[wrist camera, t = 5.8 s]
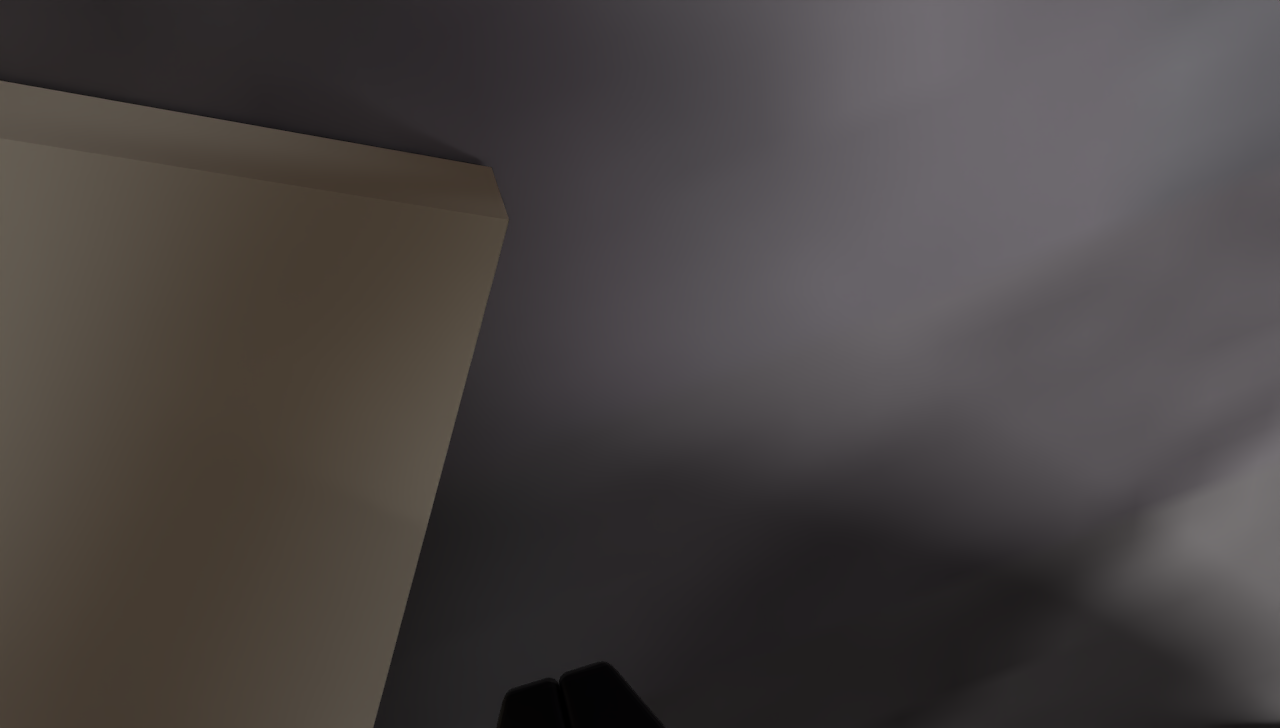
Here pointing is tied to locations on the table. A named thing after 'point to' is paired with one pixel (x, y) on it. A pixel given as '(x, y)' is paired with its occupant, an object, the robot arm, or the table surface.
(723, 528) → the table surface
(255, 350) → the beige flat board
